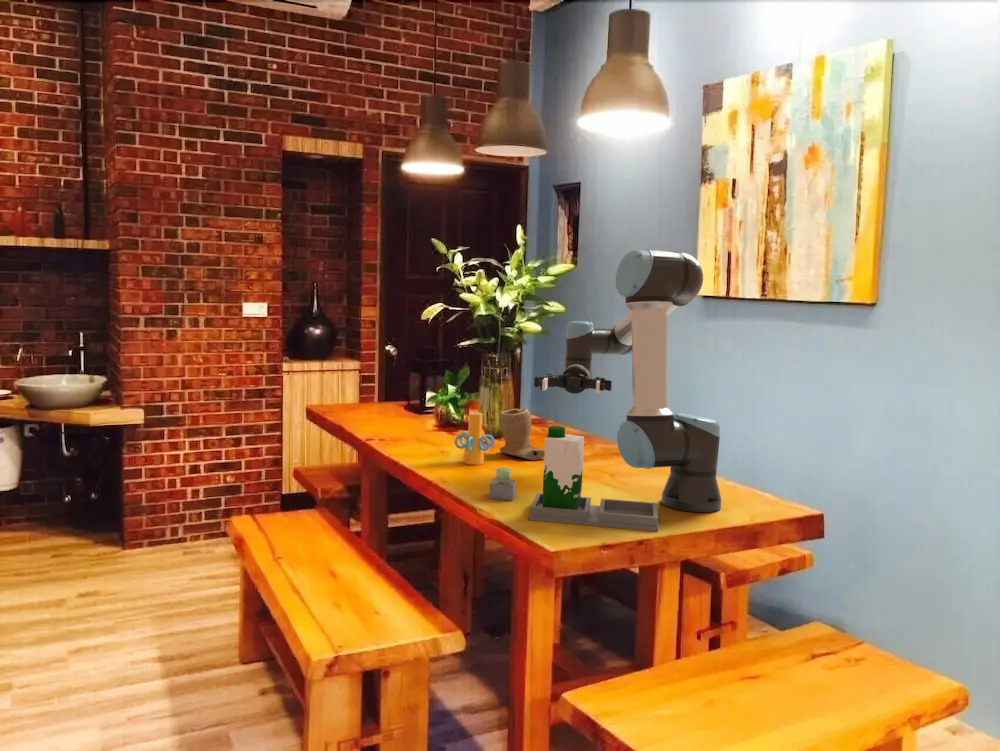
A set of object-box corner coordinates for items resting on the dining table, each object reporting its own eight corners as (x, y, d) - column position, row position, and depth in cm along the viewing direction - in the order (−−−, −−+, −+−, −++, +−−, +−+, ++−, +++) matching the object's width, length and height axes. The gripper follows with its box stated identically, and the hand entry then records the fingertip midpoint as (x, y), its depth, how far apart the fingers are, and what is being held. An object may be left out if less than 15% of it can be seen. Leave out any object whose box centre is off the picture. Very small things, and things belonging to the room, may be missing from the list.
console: (515, 494, 229) (516, 479, 228) (512, 500, 223) (513, 485, 222) (492, 493, 229) (493, 478, 229) (488, 498, 224) (489, 483, 223)
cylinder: (457, 467, 257) (459, 416, 255) (450, 459, 267) (452, 410, 265) (498, 466, 260) (500, 416, 258) (489, 459, 270) (491, 410, 268)
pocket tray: (656, 514, 216) (657, 502, 216) (658, 531, 202) (659, 518, 202) (535, 504, 221) (535, 492, 220) (528, 519, 206) (529, 507, 206)
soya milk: (547, 503, 218) (552, 423, 216) (583, 508, 215) (588, 427, 213) (537, 512, 210) (542, 429, 207) (574, 517, 207) (579, 433, 204)
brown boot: (489, 453, 278) (491, 406, 276) (519, 450, 285) (521, 404, 283) (519, 463, 266) (522, 414, 264) (549, 459, 273) (552, 412, 271)
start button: (511, 477, 227) (511, 468, 227) (509, 480, 223) (509, 471, 223) (497, 476, 228) (497, 467, 227) (495, 479, 224) (495, 470, 224)
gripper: (620, 394, 242) (619, 404, 222) (530, 390, 246) (521, 398, 225) (621, 367, 242) (621, 374, 221) (531, 363, 245) (522, 369, 224)
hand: (570, 386), depth 223 cm, fingers open, 13 cm apart
